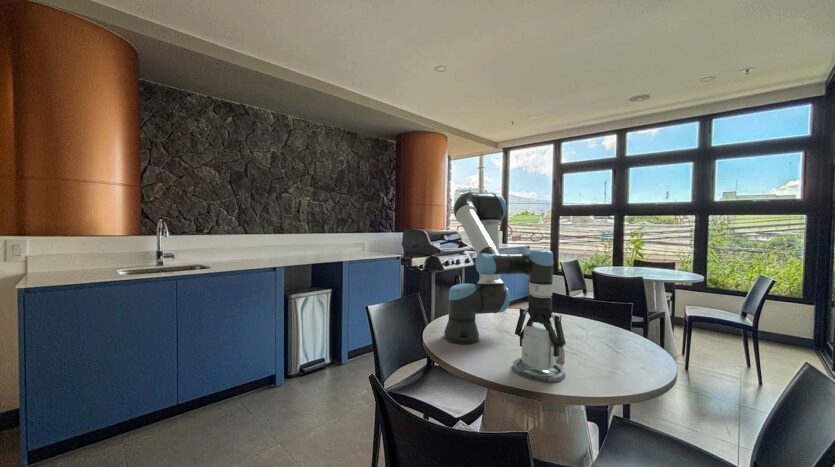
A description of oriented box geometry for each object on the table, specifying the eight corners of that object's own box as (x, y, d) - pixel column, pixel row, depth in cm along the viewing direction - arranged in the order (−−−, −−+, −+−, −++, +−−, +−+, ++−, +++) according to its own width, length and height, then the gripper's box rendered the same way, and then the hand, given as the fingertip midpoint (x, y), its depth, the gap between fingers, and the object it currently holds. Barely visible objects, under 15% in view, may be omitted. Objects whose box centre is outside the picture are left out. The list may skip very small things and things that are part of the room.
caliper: (564, 363, 122) (565, 346, 122) (561, 363, 122) (562, 346, 121) (536, 343, 142) (536, 328, 142) (533, 343, 142) (534, 328, 142)
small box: (554, 368, 112) (555, 329, 111) (540, 371, 109) (541, 332, 108) (535, 359, 119) (536, 323, 118) (522, 362, 116) (523, 325, 116)
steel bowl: (504, 370, 114) (504, 366, 114) (526, 357, 125) (527, 353, 125) (551, 387, 102) (552, 382, 102) (572, 371, 114) (572, 367, 114)
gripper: (505, 291, 118) (503, 354, 119) (569, 303, 103) (567, 374, 103) (515, 289, 124) (514, 348, 124) (578, 299, 108) (576, 367, 109)
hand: (538, 360), depth 114 cm, fingers closed on small box, 9 cm apart
